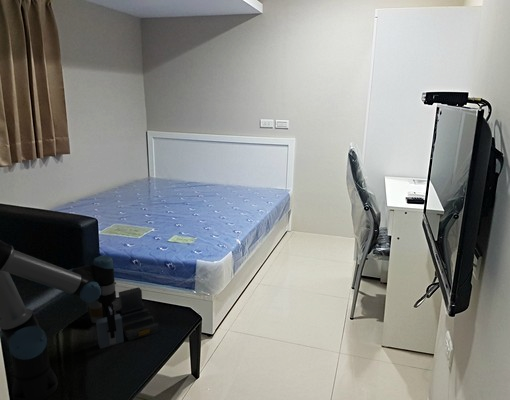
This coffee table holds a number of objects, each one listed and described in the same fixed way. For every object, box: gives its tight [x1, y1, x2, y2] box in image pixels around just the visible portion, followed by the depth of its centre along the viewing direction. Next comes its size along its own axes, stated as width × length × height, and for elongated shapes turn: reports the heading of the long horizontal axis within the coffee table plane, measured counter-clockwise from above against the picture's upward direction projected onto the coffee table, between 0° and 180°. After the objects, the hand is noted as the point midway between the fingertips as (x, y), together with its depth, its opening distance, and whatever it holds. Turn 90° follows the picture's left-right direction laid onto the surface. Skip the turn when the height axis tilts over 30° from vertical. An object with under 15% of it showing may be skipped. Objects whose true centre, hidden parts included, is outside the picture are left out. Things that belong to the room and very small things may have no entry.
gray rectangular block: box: [95, 314, 125, 350], centre depth 182 cm, size 10×4×12 cm, turn 121°
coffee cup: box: [87, 299, 103, 324], centre depth 199 cm, size 8×8×15 cm
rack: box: [114, 286, 160, 342], centre depth 197 cm, size 14×25×14 cm, turn 31°
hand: (110, 338), depth 183 cm, fingers open, 7 cm apart
